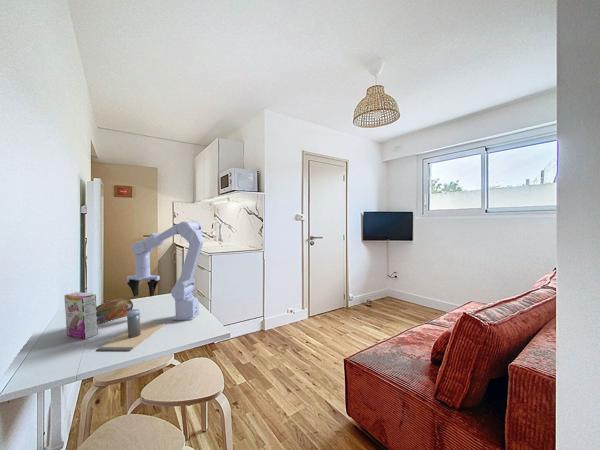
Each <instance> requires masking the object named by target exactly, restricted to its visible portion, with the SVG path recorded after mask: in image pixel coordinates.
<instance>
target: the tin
mask: <svg viewBox="0 0 600 450" xmlns="http://www.w3.org/2000/svg"><path fill="white" fill-rule="evenodd" d="M96 307H97V323H100V324H105V322H106V323H108V321H109V322H111V320H112V321H115V320H118V319H121V318H123V317H127V312H128V311H130V310H133V309H134V303H133V301H132V300H131V299H129V298H125V297H124V298H123V297H122V298H118V299H114V300H111V301H110V300H109V301H107V302H103V303H100V304H98V305H96Z"/></svg>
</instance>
